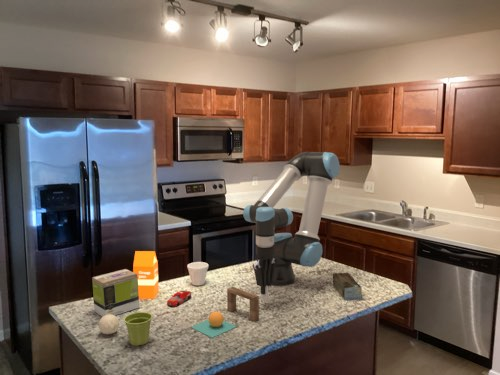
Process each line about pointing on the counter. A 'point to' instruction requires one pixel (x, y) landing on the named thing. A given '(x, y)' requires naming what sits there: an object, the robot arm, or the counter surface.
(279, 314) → the counter surface
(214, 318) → the ball
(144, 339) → the plant pot
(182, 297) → the race car
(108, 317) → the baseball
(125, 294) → the tea box
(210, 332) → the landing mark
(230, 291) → the bridge
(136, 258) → the orange juice
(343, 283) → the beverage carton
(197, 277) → the cup
